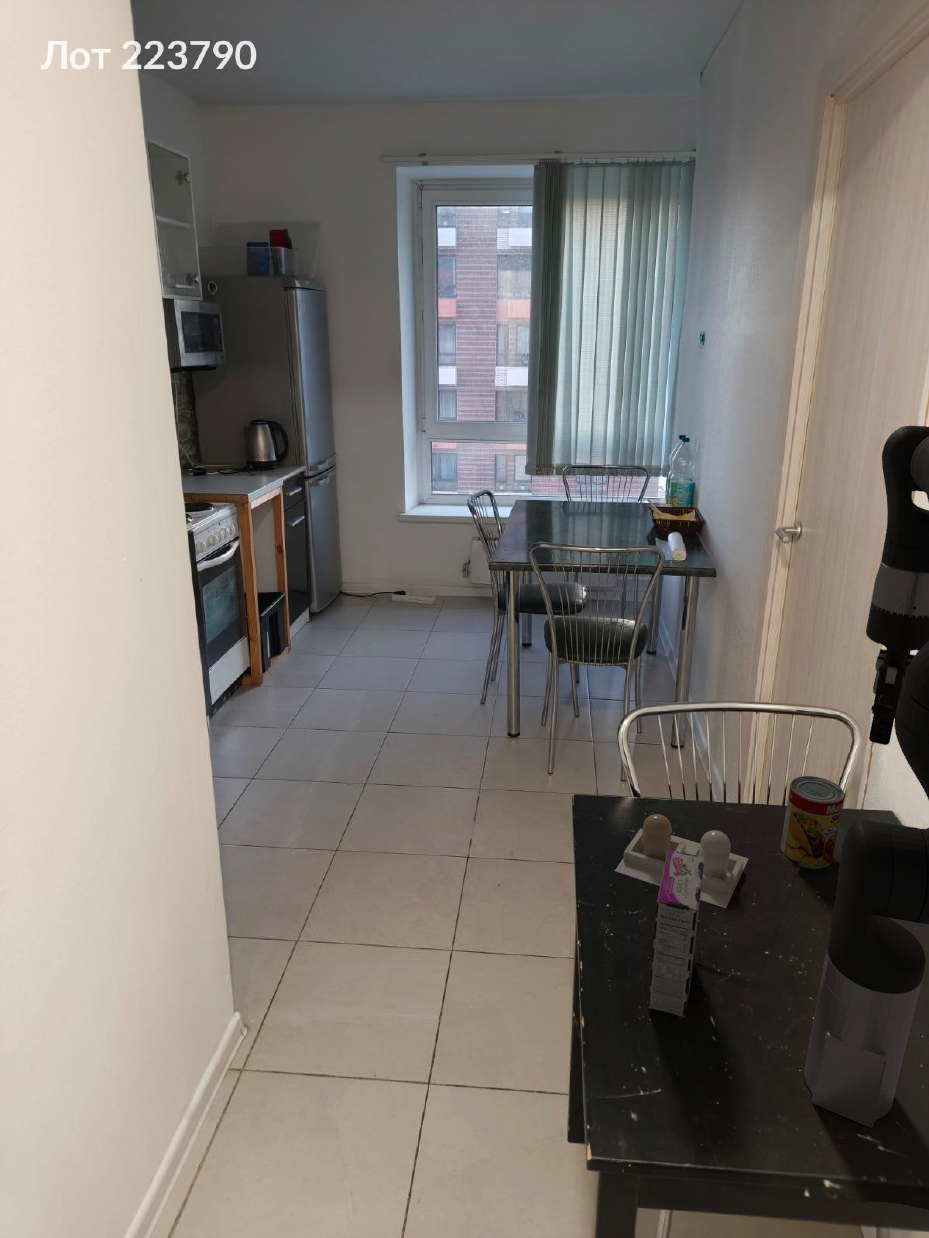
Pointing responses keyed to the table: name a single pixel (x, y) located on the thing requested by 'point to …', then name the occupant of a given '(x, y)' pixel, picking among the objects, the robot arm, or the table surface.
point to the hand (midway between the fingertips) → (882, 728)
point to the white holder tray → (653, 868)
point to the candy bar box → (675, 933)
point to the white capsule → (715, 854)
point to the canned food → (812, 821)
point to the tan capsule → (656, 837)
